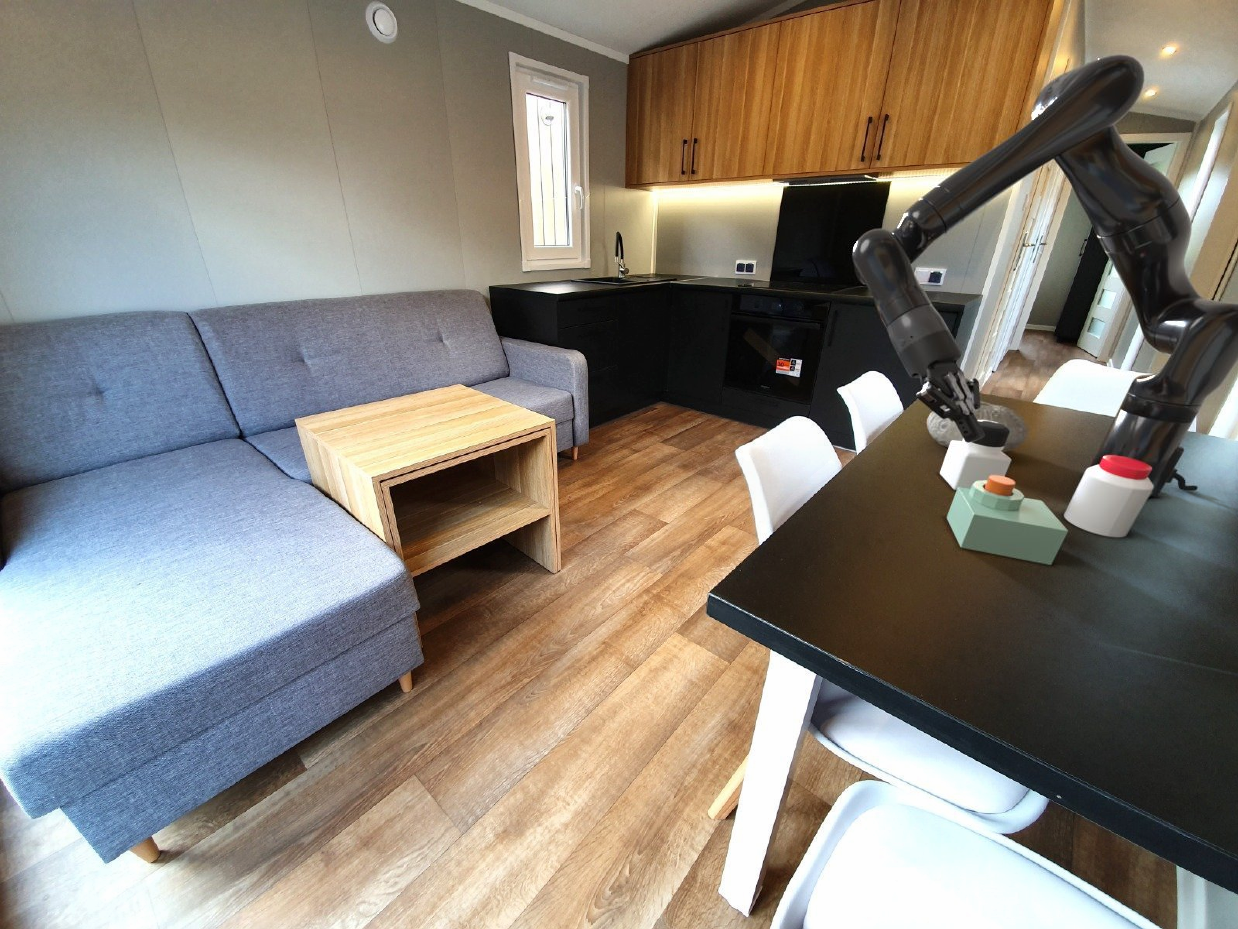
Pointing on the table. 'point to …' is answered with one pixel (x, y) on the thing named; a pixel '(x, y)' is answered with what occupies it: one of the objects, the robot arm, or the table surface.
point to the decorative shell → (949, 431)
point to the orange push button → (1000, 485)
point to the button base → (1005, 524)
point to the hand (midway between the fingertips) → (976, 439)
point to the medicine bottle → (977, 457)
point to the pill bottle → (1110, 496)
